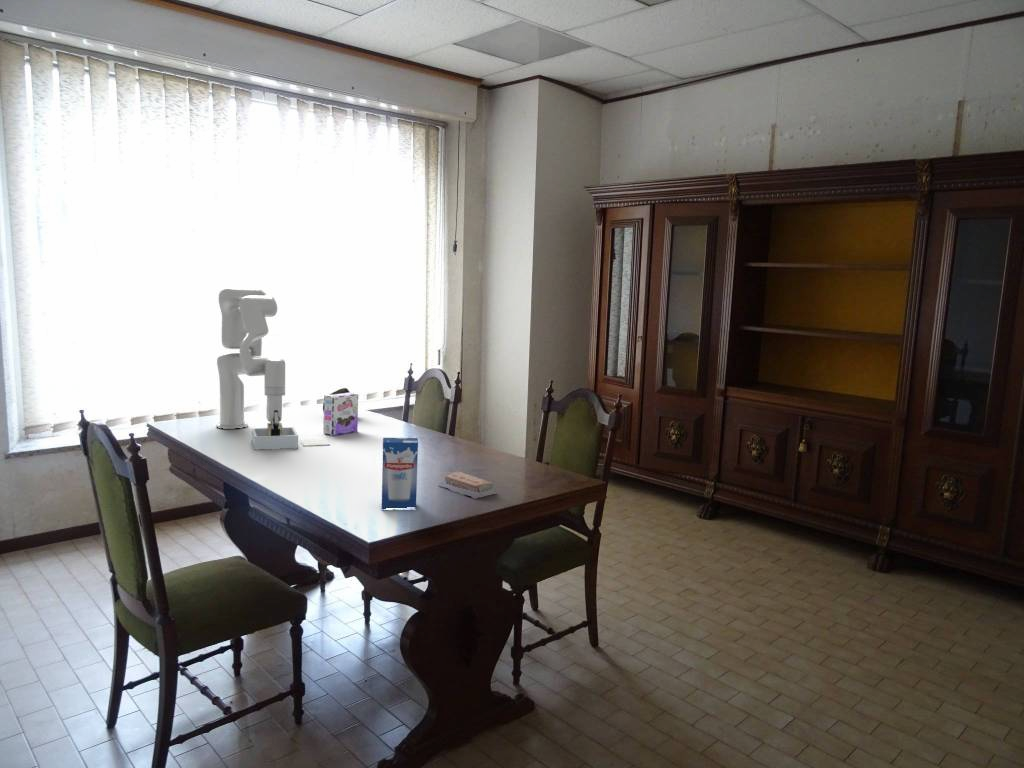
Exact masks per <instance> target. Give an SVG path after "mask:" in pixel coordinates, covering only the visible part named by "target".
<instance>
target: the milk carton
mask: <svg viewBox="0 0 1024 768" xmlns="http://www.w3.org/2000/svg"><path fill="white" fill-rule="evenodd" d="M418 449H419V439H418V437H383V438H382V470H381V471H382V473H381V474H382V477H381V479H382V481H381V482H382V483H381V510H382V509H386V508H407V507H416V508H417V488H418V487H417V486H418V484H417V483H418V459H419V458H418V455H419V450H418Z"/></svg>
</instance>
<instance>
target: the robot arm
mask: <svg viewBox="0 0 1024 768" xmlns="http://www.w3.org/2000/svg"><path fill="white" fill-rule="evenodd" d="M218 305H219V309H220V311H221V312H220V313H221V344H222V346H223V348H225V349H229V350H239V351H230V352H229V351H228V352H223V353H221V354H220V355H219V356H218V357H217V359H216V365H217V371H218V377H219V422H217V423H216V424H215V426H216V428H217V427H218V428H217V429H221V428H223V430H236V429H235V428H240V429H244V428H243V427H245V428H247V427H249V423H248V422H247V421H245V386H244V383H243V381H242V380H241V378H240V376H239V375H247V376H249V377H261V376H264V396H266V414H265V415H266V420H267V421H268V423H272V429H271V436H280V426H279V423H280V422H281V421H282V419H283V418H282V417H283V416H282V413H283V396H286V361H285V360H284V359H283V358H279V357H278V356H275V355H262V351H263V350H262V345H263V340H262V339H263V338H264V337H265V336H267V335H268V334H269V327H268V323H267V319H266V318H272V317H275V316H276V315H277V312H278V305H277V302H276V299H275V298H274V297H273V296H272V295H271V294H270V293H269V292H268V291H267V290H265V289H264V288H262V287H258V286H257V287H256V286H255V287H254V286H225V287H223V288H221V290H220V291H219V294H218ZM273 423H274V424H273Z"/></svg>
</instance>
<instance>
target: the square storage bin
mask: <svg viewBox="0 0 1024 768" xmlns="http://www.w3.org/2000/svg"><path fill="white" fill-rule="evenodd" d="M251 443H252V445H254V446H253V449H254V450H255V449H256V450H255V451H258V450H257V449H272V450H281V449H280V448H294V449H299V434H298V432H297V431H296V429H295V427H293V426H289V427H288V426H287V427H283V426H282V436H267V427H259V428H255V427H254V428H251Z"/></svg>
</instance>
